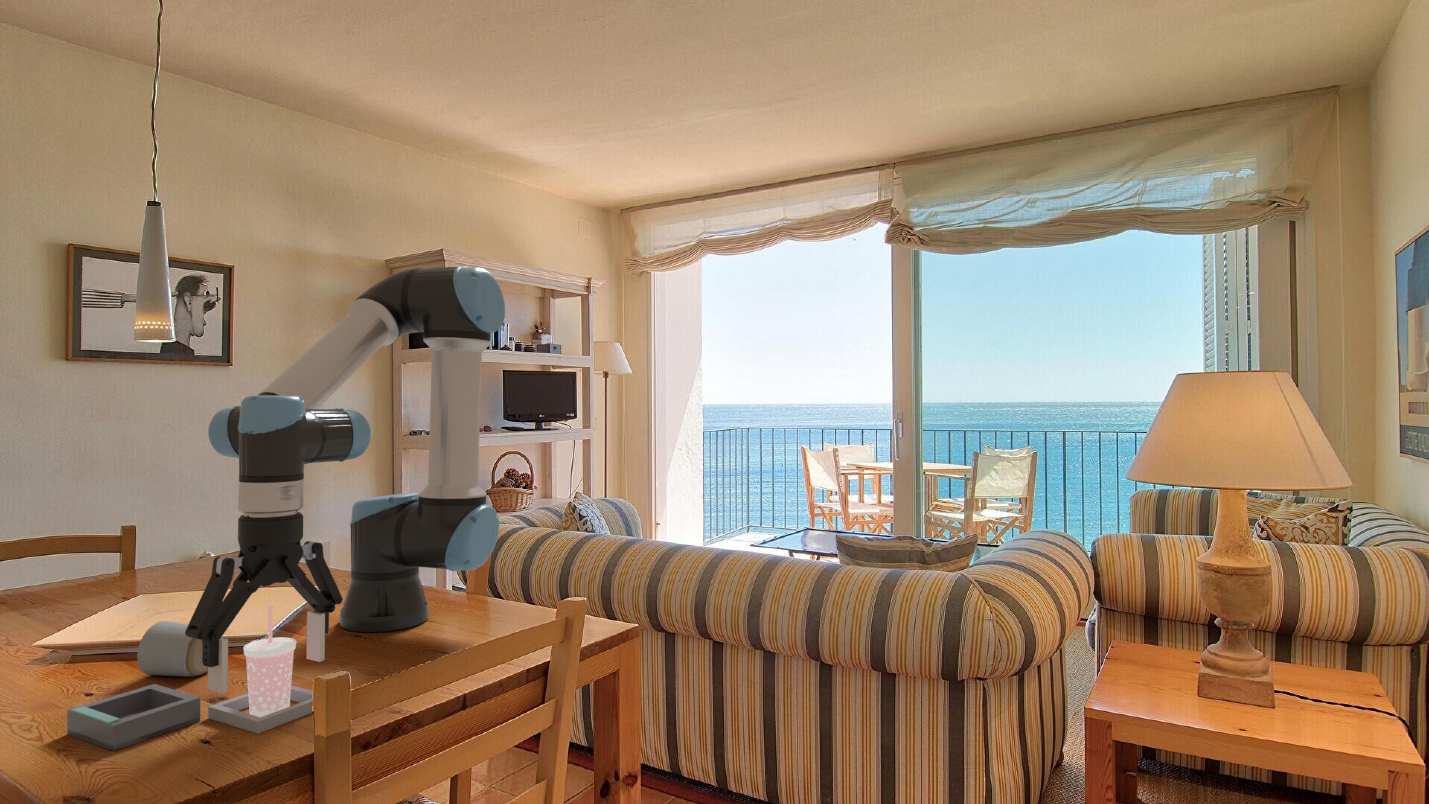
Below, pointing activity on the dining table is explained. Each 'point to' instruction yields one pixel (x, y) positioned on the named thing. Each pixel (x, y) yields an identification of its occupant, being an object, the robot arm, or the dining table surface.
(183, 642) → the ceramic mug
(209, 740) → the dining table surface
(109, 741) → the dark gray open tray
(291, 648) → the beverage cup
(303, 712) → the gray rectangular frame
